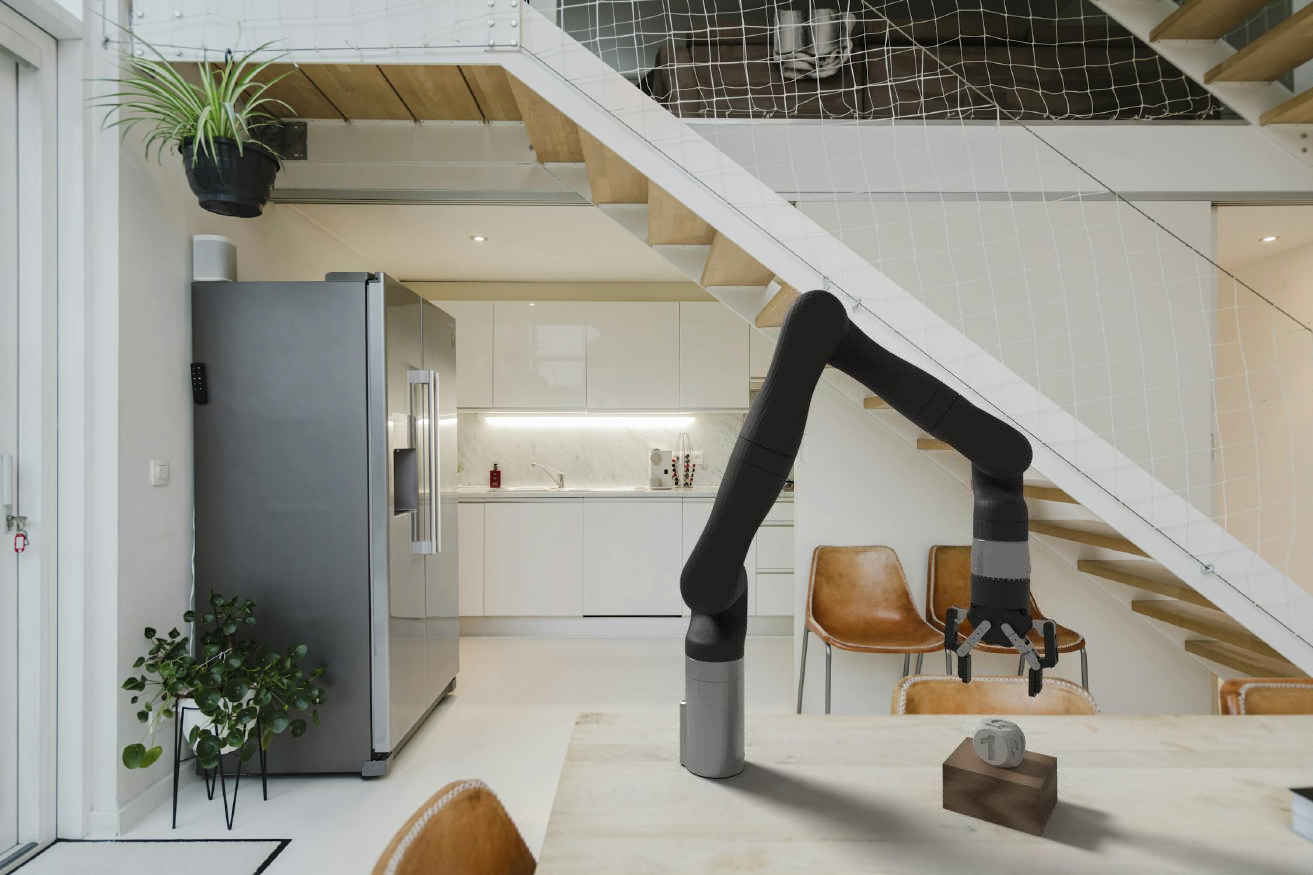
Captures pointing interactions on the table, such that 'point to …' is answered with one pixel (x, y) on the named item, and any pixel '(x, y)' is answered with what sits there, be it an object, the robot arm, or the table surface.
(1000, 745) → the die
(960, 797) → the pedestal
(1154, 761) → the table surface
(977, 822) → the table surface
